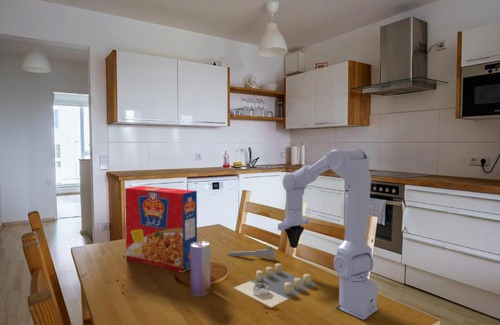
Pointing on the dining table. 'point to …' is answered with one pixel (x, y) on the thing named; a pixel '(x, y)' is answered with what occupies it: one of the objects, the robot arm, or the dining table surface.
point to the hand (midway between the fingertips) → (293, 247)
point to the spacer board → (277, 285)
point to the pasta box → (160, 226)
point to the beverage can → (200, 268)
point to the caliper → (256, 253)
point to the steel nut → (261, 289)
